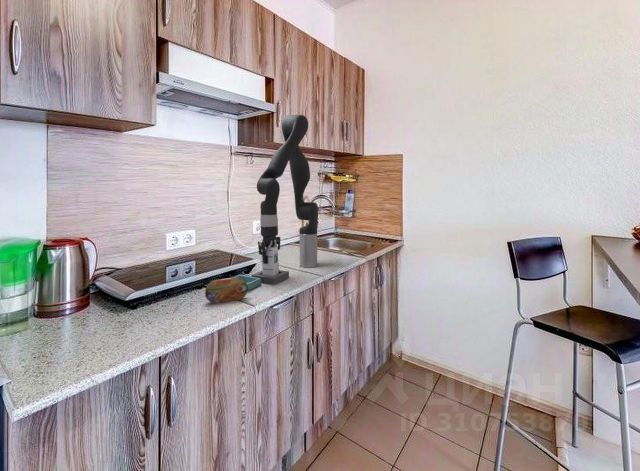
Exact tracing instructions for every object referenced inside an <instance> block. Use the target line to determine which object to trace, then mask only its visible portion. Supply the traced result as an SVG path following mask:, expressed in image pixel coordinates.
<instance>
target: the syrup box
mask: <svg viewBox="0 0 640 471" xmlns="http://www.w3.org/2000/svg"><path fill="white" fill-rule="evenodd" d="M265 248H266V247H265ZM261 252H262V250H261ZM265 253H266V250H265ZM261 271H262V273H263V275H265V276H272V277H273V276H275V275H278V274H279V250H278V245H277V246H276V247H275V246H274V247H271V248H270V251H269V252H268V264H264V263H263V255H261Z"/></svg>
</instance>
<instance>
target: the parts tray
mask: <svg viewBox="0 0 640 471" xmlns="http://www.w3.org/2000/svg"><path fill="white" fill-rule="evenodd" d="M234 277H238V278H241V279H243V280H244V281H245V282H246V283H247V285H248V291H247V293H248V292H250V291H252V290H254V289H255V288H258V287H260V286H262V283H261V278H256V277H251V276H248V275H244V274H243V275H242V274H238V275H235V276H233V277H232V278H234Z"/></svg>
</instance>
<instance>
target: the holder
mask: <svg viewBox="0 0 640 471" xmlns="http://www.w3.org/2000/svg"><path fill="white" fill-rule="evenodd" d="M250 277H256V278H261V284H263V285H270V286H276V285H278V284H280V283H282V282H283V281H287V279H290V272H289V270H281V269H280V270H279V274H278V275H275V276H273V277H272V276H265V275H263V273H262V270H260V271H257V272H254V273H252V274H250Z"/></svg>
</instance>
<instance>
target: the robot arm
mask: <svg viewBox="0 0 640 471" xmlns="http://www.w3.org/2000/svg"><path fill="white" fill-rule="evenodd" d="M308 129H309V121H308V118H307V117H306V116H305V115H304V114H288V115H285V116H283V118H282V120H281V130H282V131H281V132H282V135H283V139H284V143H283V144H282V145H281V146H280V147H279V148H278V149H277V150H276V151H275V152H274V154H273V155H272V158H271V159H270V161H269V164H268V166H267V168H266V169H265V170H264V172H262V174H261V176H260V177H259V178H258V180H257V182H256V190H257V192H258V193H259V194H260V195H262V196H264V195H265V198H264V200H262V201H261V202H260V218H259V219H260V221H259V222H260V235H261V236H262V240H259V241H257V246H258V255H261V256H262V255H263V263H264V264H268V252H269V251H270V248H271V247H274V246H275V247H276V246H277V247H278V251H280V249H281V236H278V235H279V224H278V223H279V219H278V202H279V197H280V191H281V188H280V187H281V186H280V184H279V181H278V180H277V179H278V178H280V177H282V176H283V175H284V173H285V171H286V169H287V165H288V164H289V169H290V176H291V182H292V185H293V186H292V187H293V193H294V206H295V214H296V217H297V219H298V220H300V221H308V224H306V225H304V226H301V227H300V228H299V230H298V231H299V232H298V234H299V235H298V236H299V266H300V267H302V268H315V267H317V266H318V229H319V226H318V225H319V206H318V203H317V202H314V201H313V202H311V201H309V202H308V201H304V194H305V190H306V189H307V187H308V184H309V182H310V180H311V168H310V164H309V161H308V159H307V157H306V156H305V154H304V153H303V151H302V150H301V147H300V145H299V144H300V143H301V142H302V141H303V139H304V137H305V136H306V134H307V132H308V131H309V130H308ZM265 247H266V248H265ZM261 250H262V252H261ZM265 250H266V253H265Z"/></svg>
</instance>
